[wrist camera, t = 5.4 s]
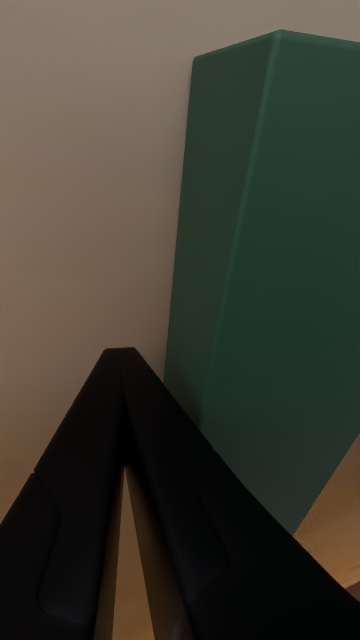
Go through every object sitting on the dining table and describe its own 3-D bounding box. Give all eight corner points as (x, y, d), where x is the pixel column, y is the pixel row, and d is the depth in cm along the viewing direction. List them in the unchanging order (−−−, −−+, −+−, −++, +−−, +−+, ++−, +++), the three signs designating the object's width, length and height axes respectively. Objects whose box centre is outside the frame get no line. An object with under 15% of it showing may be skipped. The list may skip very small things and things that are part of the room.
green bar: (253, 442, 13) (292, 537, 11) (156, 454, 13) (171, 559, 10) (385, 82, 7) (594, 79, 4) (192, 55, 6) (276, 25, 3)
